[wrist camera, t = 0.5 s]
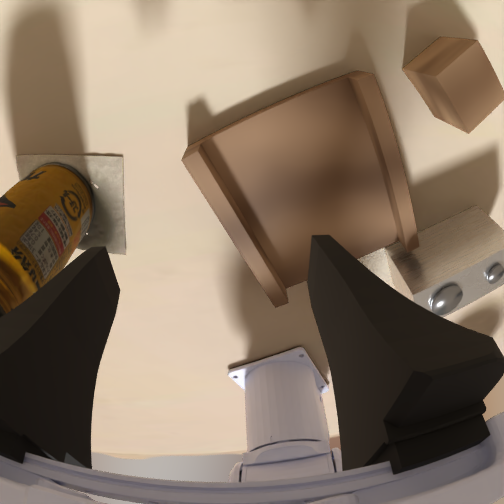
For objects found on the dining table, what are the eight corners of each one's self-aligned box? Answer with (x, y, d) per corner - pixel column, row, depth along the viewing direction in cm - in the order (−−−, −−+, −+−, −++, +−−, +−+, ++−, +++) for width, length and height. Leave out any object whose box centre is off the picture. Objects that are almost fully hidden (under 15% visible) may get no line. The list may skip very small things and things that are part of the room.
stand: (405, 228, 22) (419, 246, 20) (272, 284, 25) (275, 307, 23) (357, 70, 16) (373, 74, 14) (187, 146, 18) (181, 160, 16)
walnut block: (468, 84, 16) (506, 97, 13) (433, 116, 17) (468, 133, 14) (439, 36, 14) (477, 40, 11) (401, 68, 16) (436, 76, 12)
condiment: (17, 154, 17) (-99, 254, 7) (123, 155, 18) (24, 281, 8) (32, 241, 21) (-44, 358, 11) (127, 252, 22) (74, 396, 13)
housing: (476, 240, 23) (512, 282, 19) (392, 281, 25) (419, 332, 21) (475, 204, 21) (517, 244, 17) (383, 246, 23) (414, 298, 19)
